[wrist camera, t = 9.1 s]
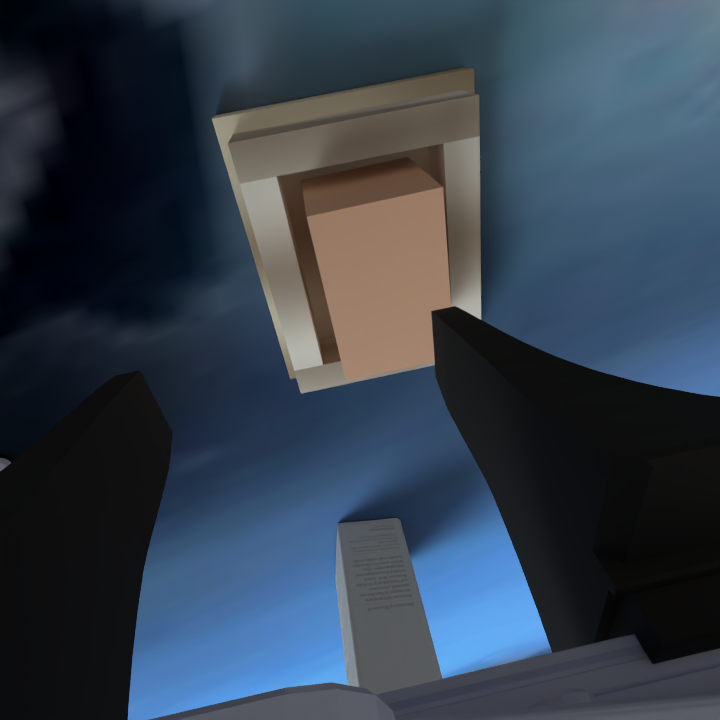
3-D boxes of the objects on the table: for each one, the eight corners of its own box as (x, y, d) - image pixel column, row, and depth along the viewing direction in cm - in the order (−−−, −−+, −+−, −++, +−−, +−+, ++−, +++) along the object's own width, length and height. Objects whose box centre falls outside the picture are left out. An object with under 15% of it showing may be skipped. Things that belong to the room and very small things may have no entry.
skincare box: (393, 569, 33) (441, 788, 24) (334, 576, 33) (357, 803, 23) (402, 514, 30) (462, 741, 20) (336, 520, 29) (364, 757, 20)
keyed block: (407, 157, 17) (443, 187, 13) (422, 300, 21) (454, 356, 17) (300, 180, 17) (306, 216, 13) (333, 320, 20) (346, 381, 17)
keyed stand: (470, 328, 23) (493, 362, 20) (290, 367, 23) (291, 405, 20) (464, 67, 17) (496, 70, 14) (215, 115, 16) (203, 127, 14)
